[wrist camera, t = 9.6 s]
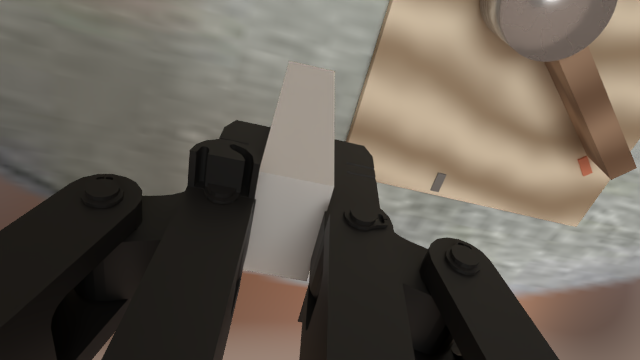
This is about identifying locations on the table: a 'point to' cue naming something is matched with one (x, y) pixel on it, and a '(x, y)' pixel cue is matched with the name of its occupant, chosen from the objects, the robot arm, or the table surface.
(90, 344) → the robot arm
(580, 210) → the dial board
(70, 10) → the table surface
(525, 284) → the table surface
